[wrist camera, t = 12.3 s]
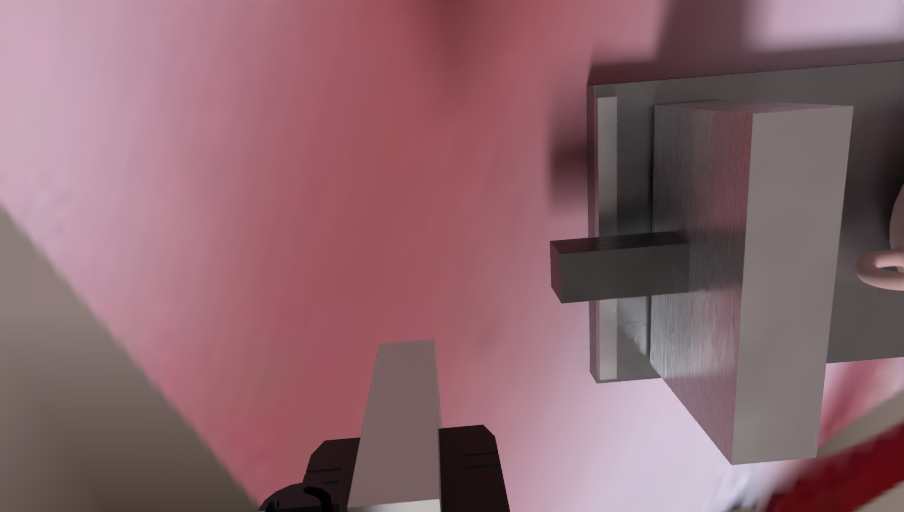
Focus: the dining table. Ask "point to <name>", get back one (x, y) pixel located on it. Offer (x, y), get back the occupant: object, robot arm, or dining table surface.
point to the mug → (886, 255)
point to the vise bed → (863, 216)
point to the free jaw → (734, 267)
